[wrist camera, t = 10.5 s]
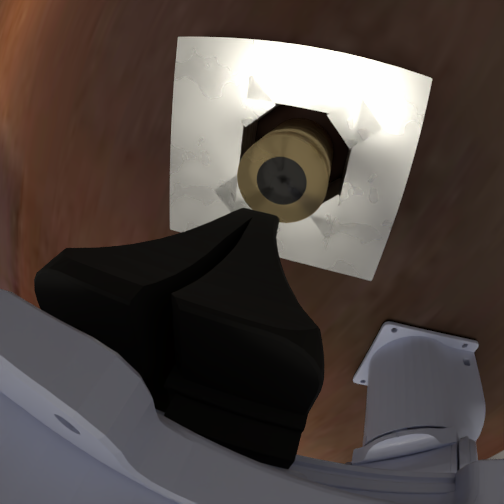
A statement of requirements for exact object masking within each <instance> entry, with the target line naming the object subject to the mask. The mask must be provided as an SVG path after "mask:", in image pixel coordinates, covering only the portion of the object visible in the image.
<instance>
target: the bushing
mask: <svg viewBox="0 0 504 504" xmlns="http://www.w3.org/2000/svg"><path fill="white" fill-rule="evenodd" d="M333 155H334V149H333V143H332V140H331V138H330V136H329V134H328V133H327V131H326V130H325V129H324V128H323V127H322V126H320V125H319V124H318V123H316V122H314V121H312V120H309V119H304V118H294V119H290V120H287V121H285V122H283V123H281V124H280V125H278V126H277V127H276V128H274V129H273V130H272V131H270V132H269V133H268V134H266V135H265V136H264V137H262V138H261V139H260V140H258V141H257V142H256V143H255V144H253V145H252V146H251V147H250V148H249V149H248V150H247V151H246V152H245V153H244V155H243V157H242V158H241V160H240V163H239V166H238V172H237V181H238V187H239V190H240V193H241V195H242V197H243V199H244V200H245V202H246V203H247V204H248V206H249V207H250V208H251V209H252V210H255V211H260V212H264V213H268V214H272V215H276V216H278V218H279V219H280V220H279V222H280V223H292V222H297V221H301V220H303V219H305V218H307V217H309V216H311V215H312V214H313V213H314V212H315V211H316V210H317V209H318V208H319V207H320V206H321V204H322V203H323V201H324V199H325V196H326V193H327V188H328V183H329V177H330V172H331V166H332V161H333Z"/></svg>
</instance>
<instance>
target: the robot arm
mask: <svg viewBox="0 0 504 504" xmlns="http://www.w3.org/2000/svg"><path fill="white" fill-rule="evenodd" d="M279 220H280V219H279V218H278V216H276V215H272V214H268V213H264V212H260V211H255V210H251V209H247V208H241V209H238V210H236V211H233V212H231V213H229V214H227V215H224V216H222V217H220V218H218V219H215V220H213V221H211V222H208V223H206V224H203V225H201V226H198V227H195V228H193V229H190V230H188V231H185V232H182V233H179V234H175V235H172V236H168V237H165V238H161V239H157V240H151V241H146V242H141V243H136V244H130V245H122V246H112V247H100V248H66V249H64V250H63V251H62V252H61V253H60V254H58V255H57V256H56V257H55V258H54V259H52V260H51V261H50V262H49V263H48V264H47V265H45V266H44V267H43V268H42V269H41V270H40V271H38V272H37V274H36V276H35V279H34V283H35V293H36V297H37V301H38V303H39V306H40V308H41V309H39V308H37V307H36V306H34V305H32V304H30V303H29V302H27V301H25V300H24V299H22V298H21V297H19V296H17V295H16V294H14V293H12V292H10V291H6V290H3V289H0V504H504V459H490V460H478V457H477V448H476V442H475V441H476V440H477V438H478V437H479V435H480V433H481V430H482V427H483V424H484V419H485V400H484V394H483V389H482V384H481V380H480V375H479V371H478V367H477V362H476V358H475V354H474V352H475V351H476V349H477V348H478V346H479V345H478V342H477V341H476V340H471V339H466V338H462V337H457V336H452V335H448V334H443V333H439V332H434V331H430V330H425V329H421V328H416V327H412V326H408V325H403V324H399V323H395V322H390V321H388V322H385V323H384V324H383V325H382V327H381V329H380V331H379V333H378V334H377V336H376V338H375V340H374V342H373V344H372V345H371V347H370V349H369V351H368V353H367V354H366V356H365V358H364V360H363V361H362V363H361V365H360V367H359V368H358V370H357V372H356V373H355V375H354V377H353V382H355V383H358V384H362V385H367V386H368V387H367V403H366V416H365V427H364V437H363V446H362V447H361V448H357V449H354V451H353V458H352V462H347V463H345V464H342V463H336V462H330V461H325V460H319V459H314V458H309V457H305V456H300V455H296V454H297V450H298V446H299V441H300V437H301V433H302V432H303V430H304V428H305V425H306V420H307V416H308V413H309V411H310V409H311V407H312V406H313V404H314V402H315V400H316V399H317V397H318V395H319V393H320V391H321V388H322V385H323V380H324V353H323V345H322V338H321V333H320V329H319V328H318V326H317V325H316V324H315V323H314V322H313V320H312V319H311V318H310V317H309V316H308V315H307V314H306V312H305V311H304V310H303V309H302V307H301V306H300V304H299V303H298V301H297V299H296V297H295V295H294V293H293V292H292V290H291V288H290V286H289V284H288V282H287V279H286V277H285V274H284V271H283V268H282V265H281V262H280V258H279V253H278V247H277V238H276V236H277V231H278V226H279ZM393 328H396V329H393Z"/></svg>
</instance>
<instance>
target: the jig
mask: <svg viewBox="0 0 504 504" xmlns="http://www.w3.org/2000/svg"><path fill="white" fill-rule="evenodd" d="M431 83H432V78H430V77H427V76H424V75H421V74H418V73H415V72H412V71H409V70H406V69H403V68H399V67H396V66H393V65H389V64H386V63H382V62H379V61H375V60H371V59H367V58H363V57H359V56H355V55H350V54H346V53H341V52H337V51H332V50H327V49H321V48H316V47H310V46H304V45H297V44H290V43H282V42H274V41H265V40H254V39H242V38H224V37H178V43H177V53H176V64H175V77H174V91H173V107H172V126H171V154H170V229H171V230H175V231H178V232H185V231H188V230H190V229H193V228H195V227H198V226H201V225H203V224H206V223H208V222H211V221H213V220H215V219H218V218H220V217H222V216H224V215H227V214H229V213H231V212H233V211H236V210H238V209H241V208H247V209H251V208H250V207H249V206H248V204H247V203H246V202H245V200H244V199H243V197H242V195H241V193H240V190H239V187H238V181H237V172H238V166H239V163H240V160H241V158H242V157H243V155H244V153H245V152H246V151H247V150H248V149H249V148H250V147H251V146H252V145H253V144H255V141H256V133H257V125H258V120H260V119H261V118H263V117H264V116H265V115H267V114H268V113H270V112H271V111H273V110H274V109H275V108H277V107H278V106H280V105H281V104H284V105H290V106H295V107H301V108H306V109H311V110H316V111H320V112H325V113H328V114H327V116H328V118H329V119H330V121H331V122H332V124H333V125H334V126H335V128H336V129H337V131H338V132H339V134H340V135H341V137H342V138H343V140H344V141H345V143H346V144H347V146H348V148H349V149H348V153H347V158H346V162H345V166H344V171H343V175H342V179H341V178H338V179H336V180H335V181H333V182H331V183H329V184H328V188H327V193H326V196H325V199H324V201H323V203H322V204H321V206H320V207H319V208H318V209H317V210H316V211H315V212H314V213H313V214H312V215H311V216H309V217H307V218H305V219H303V220H301V221H297V222H292V223H280V222H279V226H278V231H277V236H276V238H277V247H278V253H279V257H280V258H284V259H288V260H292V261H295V262H299V263H303V264H307V265H311V266H315V267H319V268H323V269H327V270H330V271H334V272H338V273H342V274H346V275H350V276H354V277H358V278H362V279H365V280H369V281H372V278H373V276H374V273H375V271H376V268H377V266H378V263H379V261H380V258H381V255H382V253H383V250H384V247H385V245H386V242H387V239H388V237H389V234H390V231H391V228H392V225H393V222H394V219H395V217H396V214H397V211H398V208H399V205H400V201H401V198H402V195H403V192H404V189H405V186H406V182H407V179H408V176H409V172H410V169H411V165H412V162H413V158H414V155H415V151H416V147H417V144H418V140H419V136H420V132H421V128H422V124H423V120H424V115H425V111H426V107H427V102H428V97H429V93H430V88H431ZM251 210H252V209H251Z"/></svg>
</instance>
